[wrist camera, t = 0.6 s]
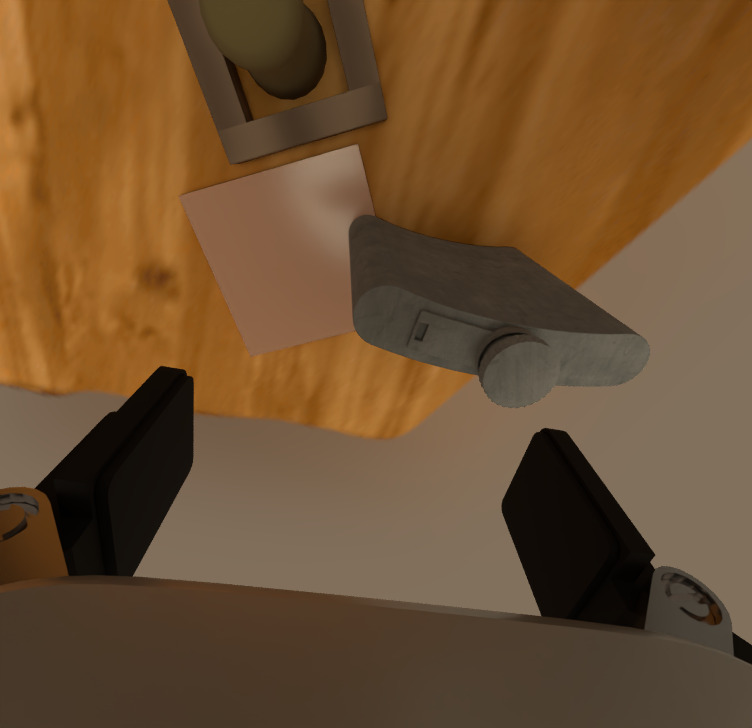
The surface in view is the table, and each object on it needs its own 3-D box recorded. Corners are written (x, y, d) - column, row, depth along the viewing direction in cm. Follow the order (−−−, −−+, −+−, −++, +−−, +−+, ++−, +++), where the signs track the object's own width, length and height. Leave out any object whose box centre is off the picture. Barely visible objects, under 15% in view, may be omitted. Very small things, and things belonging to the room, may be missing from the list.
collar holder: (340, -94, 26) (338, -117, 24) (385, 120, 31) (387, 117, 29) (166, -33, 27) (149, -49, 25) (239, 163, 32) (230, 164, 30)
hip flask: (528, 251, 36) (698, 364, 19) (511, 293, 38) (650, 432, 21) (352, 210, 33) (362, 299, 16) (343, 258, 35) (343, 384, 18)
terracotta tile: (357, 143, 32) (357, 143, 31) (400, 317, 39) (400, 319, 38) (181, 195, 33) (178, 196, 33) (252, 353, 40) (250, 356, 40)
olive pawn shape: (306, 116, 31) (279, 101, 21) (229, 70, 30) (163, 30, 20) (341, 28, 29) (329, -35, 19) (259, -27, 27) (201, -126, 17)
